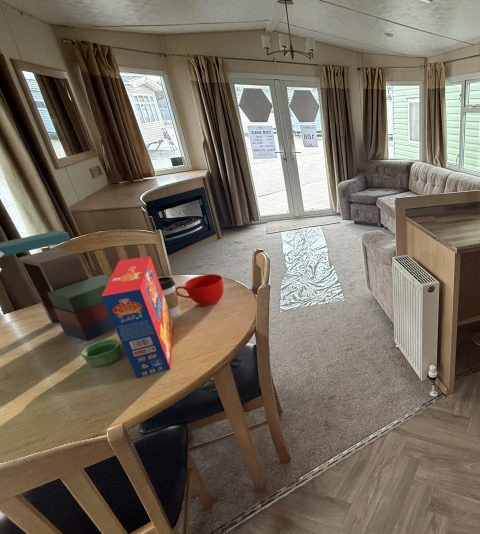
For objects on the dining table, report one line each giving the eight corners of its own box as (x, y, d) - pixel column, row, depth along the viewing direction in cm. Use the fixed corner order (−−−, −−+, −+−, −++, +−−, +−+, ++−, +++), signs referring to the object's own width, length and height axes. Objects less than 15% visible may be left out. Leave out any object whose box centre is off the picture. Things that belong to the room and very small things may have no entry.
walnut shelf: (51, 322, 125) (17, 257, 115) (83, 309, 134) (55, 248, 123) (72, 328, 122) (39, 262, 112) (104, 314, 131) (77, 252, 120)
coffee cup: (174, 320, 129) (162, 285, 123) (152, 320, 128) (139, 285, 122) (189, 309, 136) (178, 275, 130) (167, 308, 136) (156, 275, 130)
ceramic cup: (184, 299, 143) (177, 278, 139) (229, 292, 149) (224, 272, 145) (175, 314, 132) (168, 292, 128) (225, 306, 139) (219, 285, 135)
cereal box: (170, 368, 104) (140, 289, 93) (136, 378, 100) (101, 296, 89) (174, 325, 126) (150, 256, 114) (146, 331, 122) (119, 260, 110)
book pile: (65, 334, 119) (44, 293, 112) (116, 312, 133) (101, 274, 126) (87, 341, 116) (67, 299, 109) (138, 317, 130) (123, 279, 123)
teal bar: (-32, 259, 103) (-38, 250, 102) (60, 238, 122) (57, 230, 121) (-21, 262, 101) (-26, 253, 100) (71, 240, 121) (67, 232, 119)
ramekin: (101, 370, 103) (96, 358, 101) (78, 365, 105) (72, 354, 103) (131, 352, 111) (127, 341, 109) (109, 348, 113) (104, 337, 111)
